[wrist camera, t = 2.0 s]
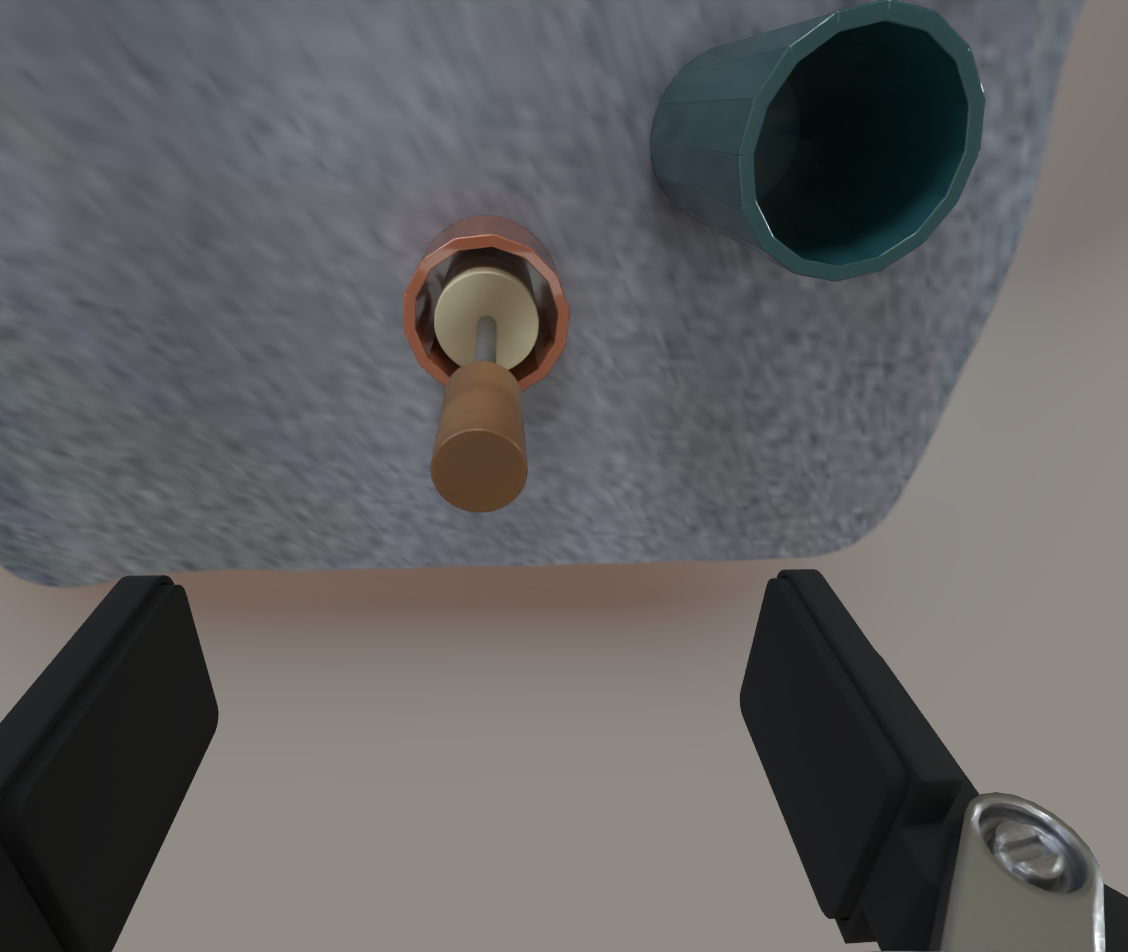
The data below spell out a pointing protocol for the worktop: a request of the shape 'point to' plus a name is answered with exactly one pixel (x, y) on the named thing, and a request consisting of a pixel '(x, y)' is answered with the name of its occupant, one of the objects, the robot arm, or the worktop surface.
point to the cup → (825, 137)
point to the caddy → (431, 278)
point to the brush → (483, 379)
